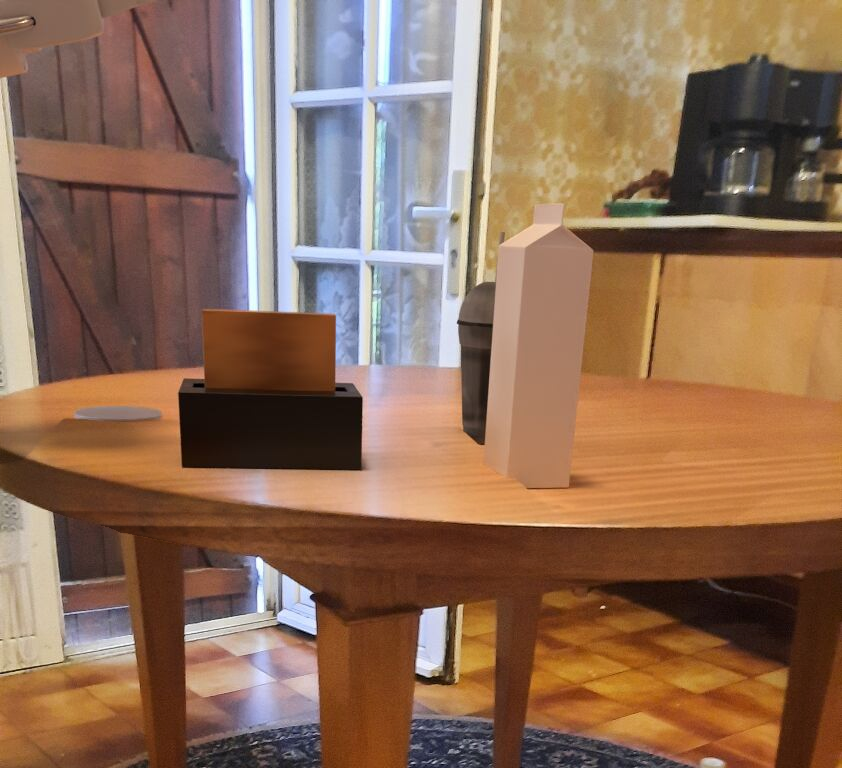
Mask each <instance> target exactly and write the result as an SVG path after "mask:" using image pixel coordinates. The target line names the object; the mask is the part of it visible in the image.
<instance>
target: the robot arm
mask: <svg viewBox="0 0 842 768" xmlns="http://www.w3.org/2000/svg"><path fill="white" fill-rule="evenodd" d="M157 1H158V0H0V79H4V78H8V77H13V76H17V75H22V74H27V73H28V71H29V62H28V56H27V54H31V53H38V52H41V51H42V50H43V48H44V49H45V48H49V47H54V46H55V47H56V46H60V45H65V44H71V43H77V42H82V41H87V40H91V39H95V38H97V37H98V36H101V35H103V33H104V31H105V18H107V17H111V16H112V17H113V16H116V15H117V16H118V15H119V14H122V13H124V12H127V11H130V10H131V9H134V8H137V7H138V6H142V5H147V4H151V3H156V2H157Z"/></svg>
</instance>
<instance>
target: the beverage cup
mask: <svg viewBox="0 0 842 768" xmlns="http://www.w3.org/2000/svg"><path fill="white" fill-rule="evenodd" d="M505 236H506V232H504V231H500V232H499V240H498V246H499V245H500V244H502V243H504V242H505ZM497 262H498V257H497V259H496V263H497ZM495 268H496V269H495V277H494V281H483V282H481V283H479V284H477V285H475V286H474V287H473V288H472V289H470V290H469V291H468V293H467V295H465V297H464V299H463V300H462V303H461V306H460V309H459V312H458V318H457V321H456V325H458V328H457V335H458V342H459V345H460V371H461V372H460V374H461V375H460V378H461V380H460V381H461V423H462V424H461V425H462V431H463V432H464V433H465V434H466V435H467V436H468V437H469V438H471V439H472V440H473V441H474V442H475V443H476V444H477V445H484V446H485V434H486V419H487V405H488V391H489V377H490V362H491V348H492V334H493V320H494V305H495V291H496V277H497V266H496V267H495Z"/></svg>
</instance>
